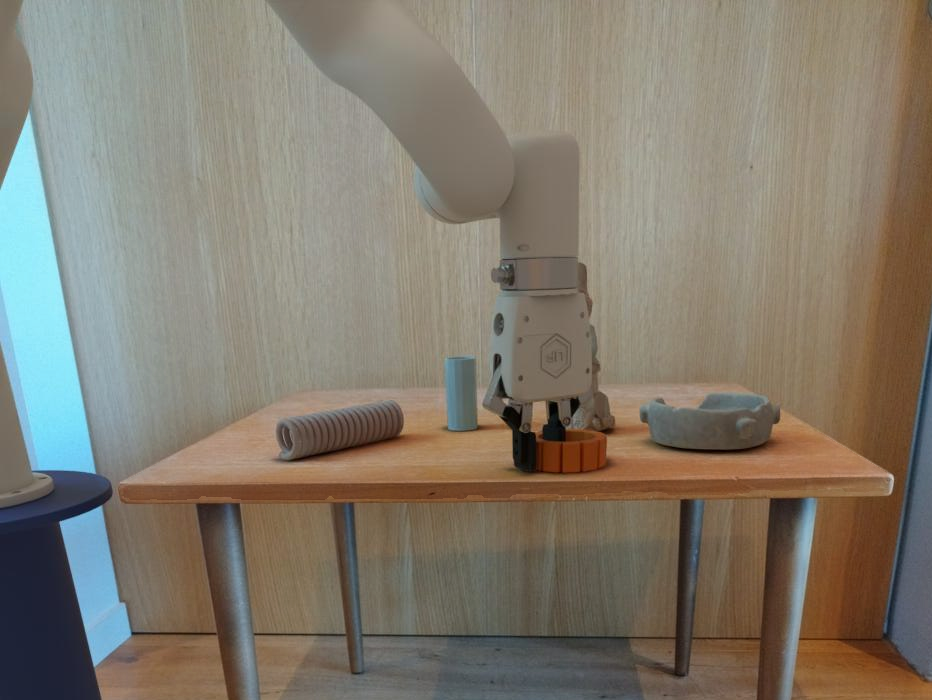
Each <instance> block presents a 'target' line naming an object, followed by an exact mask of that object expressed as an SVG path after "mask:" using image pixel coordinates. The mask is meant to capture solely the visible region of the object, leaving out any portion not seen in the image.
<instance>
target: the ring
mask: <svg viewBox="0 0 932 700" xmlns="http://www.w3.org/2000/svg"><path fill="white" fill-rule="evenodd" d="M534 432H535V431H534ZM535 434H536V469H535V470H536V471H539V472H540V471H543V472H547V473H556V474H557V473H562V474H563V473H564V474H567V473H581V472H589V471H596V470H598V469H601V468H603V467H605V466H606V465H607V450H608V449H607V448H608V447H607V446H608V436H607V435H606V434H605V433H604V432H602V431H593V430H591V431H589V430H583V429H573V430H570V429H566V442H557V441H547V440H543V439H542V430H540V431H537V432H535Z"/></svg>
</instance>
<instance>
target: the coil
mask: <svg viewBox="0 0 932 700" xmlns="http://www.w3.org/2000/svg"><path fill="white" fill-rule="evenodd" d="M404 424H405V418H404V413H403V409H402V407H401V406H400V405H399V403H397V401H395V400H392V399H389V400H383V401H378V402H377V401H376V402H372V403H371V402H370V403H365V404H362V405H355V406H349V407H343V408H337V409H330V410H325V411H320V412H319V411H318V412H316V413H310V414H303V415H296V416H295V417H294V416H290V417H288V418H285V417H284V418H281V419H279V420H278V422H277V423H276V427H275V438H276V441H277V445H278V446H279V448H280V450H281V451H280V452H279V453H278V457H279V458H280V459H281V460H283V461H291V460H297V459H300V458H306V457H311V456H313V455H319V454H325V453H328V452H333V451H338V450H341V449H342V450H343V449H347V448H352V447H357V446H360V445H362V446H363V445H366V444H371V443H376V442H379V441H384V440H389V439H395V438H398V437H399V436H400V434H401V433H402V431H403V428H404Z"/></svg>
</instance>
